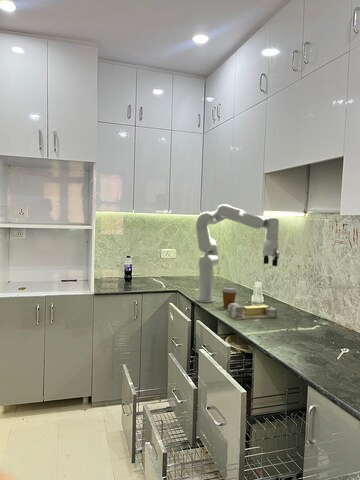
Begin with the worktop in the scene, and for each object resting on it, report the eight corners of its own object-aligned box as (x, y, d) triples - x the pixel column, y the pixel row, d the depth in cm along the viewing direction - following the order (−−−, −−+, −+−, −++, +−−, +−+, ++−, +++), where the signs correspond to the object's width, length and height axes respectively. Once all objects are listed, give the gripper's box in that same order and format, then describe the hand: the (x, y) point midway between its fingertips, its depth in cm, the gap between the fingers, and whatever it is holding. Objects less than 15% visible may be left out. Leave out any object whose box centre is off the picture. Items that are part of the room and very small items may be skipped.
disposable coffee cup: (238, 306, 236) (239, 288, 235) (232, 309, 228) (233, 290, 227) (224, 304, 241) (225, 286, 240) (218, 307, 233) (219, 288, 232)
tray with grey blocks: (225, 313, 218) (225, 302, 218) (263, 311, 227) (264, 300, 226) (236, 319, 205) (236, 308, 205) (276, 317, 214) (277, 305, 213)
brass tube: (242, 313, 217) (243, 306, 216) (264, 311, 221) (264, 305, 221) (246, 315, 212) (246, 308, 212) (268, 313, 217) (268, 307, 217)
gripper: (259, 236, 235) (257, 263, 236) (274, 238, 219) (272, 266, 220) (269, 236, 238) (267, 262, 239) (285, 238, 221) (283, 266, 222)
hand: (270, 264), depth 229 cm, fingers open, 9 cm apart
